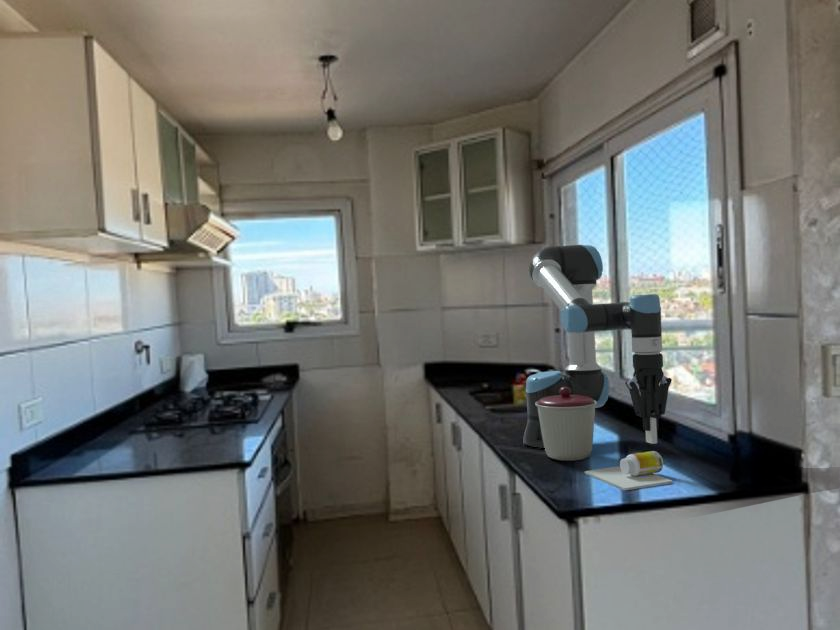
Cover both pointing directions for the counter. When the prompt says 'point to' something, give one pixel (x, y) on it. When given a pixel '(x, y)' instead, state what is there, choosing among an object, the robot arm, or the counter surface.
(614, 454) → the counter surface
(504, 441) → the counter surface
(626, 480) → the mat
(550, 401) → the canister
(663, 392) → the robot arm
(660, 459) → the supplement bottle
